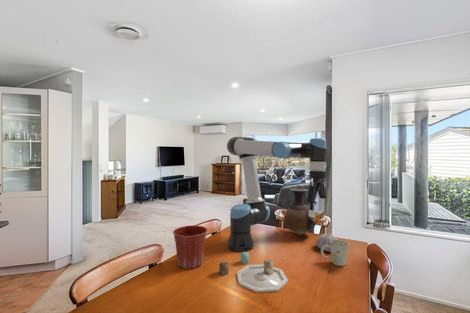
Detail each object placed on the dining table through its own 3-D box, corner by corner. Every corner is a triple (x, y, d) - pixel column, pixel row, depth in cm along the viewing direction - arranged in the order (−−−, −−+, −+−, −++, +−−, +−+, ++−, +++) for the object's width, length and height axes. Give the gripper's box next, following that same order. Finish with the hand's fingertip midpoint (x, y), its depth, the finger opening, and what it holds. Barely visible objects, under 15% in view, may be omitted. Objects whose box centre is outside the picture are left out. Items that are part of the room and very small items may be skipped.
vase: (322, 240, 145) (322, 191, 144) (292, 242, 142) (292, 192, 141) (304, 228, 167) (305, 186, 167) (279, 230, 164) (279, 187, 164)
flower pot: (166, 263, 113) (166, 230, 113) (193, 253, 125) (193, 223, 125) (186, 275, 102) (186, 239, 102) (214, 263, 114) (214, 230, 114)
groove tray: (228, 281, 97) (228, 277, 97) (255, 264, 113) (255, 260, 113) (269, 300, 85) (269, 295, 85) (294, 278, 100) (294, 274, 100)
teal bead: (238, 264, 113) (238, 254, 113) (243, 261, 116) (243, 251, 116) (245, 267, 110) (245, 256, 110) (250, 264, 113) (250, 253, 113)
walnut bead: (217, 275, 102) (217, 264, 102) (223, 271, 105) (223, 260, 105) (224, 278, 100) (224, 266, 100) (230, 274, 103) (230, 263, 103)
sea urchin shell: (337, 244, 138) (337, 231, 137) (344, 254, 124) (344, 239, 124) (313, 243, 140) (313, 230, 140) (317, 252, 127) (317, 237, 126)
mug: (350, 268, 109) (350, 246, 109) (322, 265, 112) (322, 244, 112) (345, 260, 117) (345, 240, 117) (319, 257, 120) (319, 238, 120)
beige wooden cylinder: (262, 272, 103) (262, 261, 103) (266, 269, 106) (266, 258, 106) (269, 275, 100) (269, 264, 100) (274, 272, 103) (274, 260, 103)
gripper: (316, 172, 101) (315, 221, 102) (332, 169, 121) (331, 210, 122) (300, 171, 106) (299, 218, 106) (318, 168, 126) (317, 207, 126)
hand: (316, 213), depth 114 cm, fingers open, 13 cm apart
